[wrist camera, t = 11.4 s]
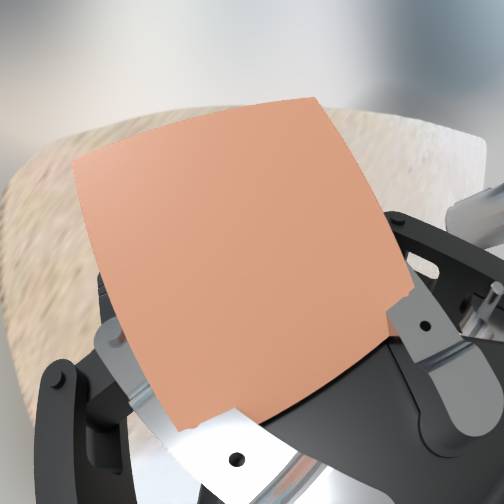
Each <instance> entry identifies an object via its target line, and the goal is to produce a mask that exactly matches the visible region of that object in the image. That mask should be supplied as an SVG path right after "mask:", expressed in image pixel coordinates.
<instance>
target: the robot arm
mask: <svg viewBox="0 0 504 504" xmlns="http://www.w3.org/2000/svg"><path fill="white" fill-rule="evenodd" d="M384 215H385V217H386V219H387V221H388V223H389V225H390V228H391V230H392V232H393V234H394V237H395V239H396V241H397V243H398V246H399V248H400V250H401V253H402V255H403V258H404V260H405V263H406V265H407V268H408V270H409V273H410V275H411V278H412V281H413V284H414V286H415V287H414V288H413V289H412V290H411V291H410V292H409V295H408V296H407V297H403V298H402V299H400V300H399V301H398V302H397V303H396V304H394V305H393V306H392V307H391V308H389V309H388V310H387V311H386V317H387V324H388V331H389V337H387V338H386V339H385V340H384V341H383V342H381V343H380V344H379V345H378V346H377V347H375V348H374V349H373V350H372V351H370V352H369V353H368V354H367V355H365V356H364V357H363V358H361V359H360V360H359V361H357V362H356V363H355V364H353V365H352V366H351V367H349V368H348V369H347V370H345V371H344V372H343V373H341V374H340V375H338V376H337V377H335V378H334V379H333V380H331V381H330V382H328V383H327V384H325V385H324V386H322V387H321V388H319V389H318V390H316V391H315V392H313V393H311V394H310V395H308V396H307V397H305V398H304V399H302V400H300V401H299V402H297V403H295V404H294V405H292V406H290V407H289V408H287V409H285V410H283V411H282V412H280V413H278V414H276V415H275V416H273V417H271V418H269V419H267V420H266V421H264V422H262V423H260V424H256V423H255V422H253V421H252V420H251V419H249V418H248V417H247V416H245V415H244V414H243V413H241V412H240V411H239V410H237V409H236V408H233V409H231V410H229V411H227V412H224V413H222V414H220V415H218V416H216V417H214V418H211V419H209V420H207V421H205V422H202V423H200V424H199V426H198V427H196V428H194V429H189V428H188V429H186V430H183V431H181V432H178V431H177V429H176V428H175V426H174V424H173V423H172V421H171V420H170V418H169V417H168V415H167V413H166V412H165V410H164V408H163V407H162V405H161V403H160V402H159V400H158V398H157V397H156V395H155V393H154V391H153V390H152V388H151V386H150V384H149V382H148V381H147V379H146V377H145V375H144V373H143V371H142V369H141V367H140V365H139V363H138V361H137V359H136V357H135V355H134V353H133V351H132V349H131V347H130V345H129V343H128V341H127V339H126V336H125V334H124V332H123V330H122V327H121V325H120V323H119V321H118V318H117V316H116V313H115V311H114V309H113V306H112V304H111V301H110V298H109V296H108V293H107V291H106V288H105V285H104V282H103V280H102V277H101V274H100V272H99V275H98V277H97V281H98V295H99V306H100V316H101V324H102V325H101V326H100V327H99V329H98V330H97V332H96V334H95V337H94V347H95V349H94V350H93V351H92V352H91V353H90V354H89V355H87V356H86V357H85V358H84V359H82V360H81V361H80V362H79V363H77V364H76V365H74V364H73V363H72V362H71V361H69V360H67V359H59V360H56V361H54V362H53V363H51V364H50V365H49V366H48V367H47V368H46V370H45V371H44V373H43V375H42V378H41V382H40V388H39V395H38V403H37V412H36V423H35V438H34V480H35V495H36V504H137V500H136V494H135V489H134V482H133V476H132V468H131V460H130V452H129V441H128V429H127V416H128V415H129V414H131V413H132V412H133V411H135V413H136V414H137V415H138V417H139V418H140V419H141V420H142V421H143V423H144V424H145V425H146V426H147V427H148V429H149V430H150V431H151V432H152V433H153V434H154V435H155V437H156V438H157V439H158V440H159V441H160V442H161V443H162V444H163V445H164V446H165V447H166V449H167V450H168V451H169V452H170V453H171V454H172V455H173V456H174V457H175V458H176V459H177V460H178V461H179V462H180V463H181V464H182V465H183V466H184V467H185V468H186V469H187V470H188V471H189V472H191V473H192V474H193V475H194V476H195V477H196V478H197V479H198V480H199V481H200V482H202V483H201V487H200V492H199V497H198V502H197V504H504V260H502V259H500V258H498V257H496V256H495V255H493V254H491V253H489V252H487V251H485V250H484V249H487V248H490V247H494V246H497V245H500V244H503V243H504V183H503V184H501V185H499V186H496V187H494V188H488V189H485V190H483V191H481V192H479V193H477V194H475V195H472V196H470V197H468V198H466V199H464V200H461V201H459V202H457V203H455V204H454V206H452V207H450V208H449V209H448V211H447V214H446V226H447V232H446V231H443V230H441V229H439V228H437V227H434V226H432V225H430V224H428V223H425V222H423V221H420V220H418V219H416V218H413V217H411V216H408V215H406V214H403V213H400V212H395V211H388V212H384ZM409 252H411V253H413V254H415V255H418V256H420V257H422V258H424V259H426V260H428V261H430V262H432V263H434V264H435V265H436V266H437V267H438V269H439V277H438V278H437V279H431V278H429V277H427V276H425V275H423V274H421V273H419V272H417V271H415V270H413V269H412V267H411V266H410V265H409V264H408V263H407V261H406V260H407V257H408V253H409ZM459 333H461V335H460V334H459Z"/></svg>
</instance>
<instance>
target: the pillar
mask: <svg viewBox="0 0 504 504" xmlns="http://www.w3.org/2000/svg"><path fill="white" fill-rule="evenodd" d="M72 165H73V171H74V176H75V182H76V187H77V191H78V196H79V201H80V205H81V209H82V213H83V217H84V221H85V225H86V229H87V232H88V236H89V239H90V243H91V246H92V249H93V253H94V256H95V259H96V262H97V265H98V268H99V271H100V274H101V277H102V280H103V282H104V285H105V288H106V291H107V293H108V296H109V298H110V301H111V304H112V306H113V309H114V311H115V313H116V316H117V318H118V321H119V323H120V325H121V327H122V330H123V332H124V334H125V336H126V339H127V341H128V343H129V345H130V347H131V349H132V351H133V353H134V355H135V357H136V359H137V361H138V363H139V365H140V367H141V369H142V371H143V373H144V375H145V377H146V379H147V381H148V382H149V384H150V386H151V388H152V390H153V391H154V393H155V395H156V397H157V398H158V400H159V402H160V403H161V405H162V407H163V408H164V410H165V412H166V413H167V415H168V417H169V418H170V420H171V421H172V423H173V424H174V426H175V428H176V429H177V431H178V432H181V431H183V430H186V429H188V428H189V429H194V428H196V427H198V426H199V424H200V423H202V422H205V421H207V420H209V419H211V418H214V417H216V416H218V415H220V414H222V413H224V412H227V411H229V410H231V409H233V408H236V409H237V410H239V411H240V412H241V413H243V414H244V415H245V416H247V417H248V418H249V419H251V420H252V421H253V422H255V423H256V424H260V423H262V422H264V421H266V420H267V419H269V418H271V417H273V416H275V415H276V414H278V413H280V412H282V411H283V410H285V409H287V408H289V407H290V406H292V405H294V404H295V403H297V402H299V401H300V400H302V399H304V398H305V397H307V396H308V395H310V394H311V393H313V392H315V391H316V390H318V389H319V388H321V387H322V386H324V385H325V384H327V383H328V382H330V381H331V380H333V379H334V378H335V377H337V376H338V375H340V374H341V373H343V372H344V371H345V370H347V369H348V368H349V367H351V366H352V365H353V364H355V363H356V362H357V361H359V360H360V359H361V358H363V357H364V356H365V355H367V354H368V353H369V352H370V351H372V350H373V349H374V348H375V347H377V346H378V345H379V344H380V343H381V342H383V341H384V340H385V339H386V338H387V337H389V331H388V324H387V317H386V311H387V310H388V309H389V308H391V307H392V306H393V305H394V304H396V303H397V302H398V301H399V300H400V299H402V298H403V297H407V296H408V295H409V292H410V291H411V290H412V289H413V288H414V287H415V286H414V284H413V281H412V278H411V275H410V273H409V270H408V268H407V265H406V263H405V260H404V258H403V255H402V253H401V250H400V248H399V246H398V243H397V241H396V239H395V237H394V234H393V232H392V230H391V228H390V225H389V223H388V221H387V219H386V217H385V215H384V213H383V211H382V209H381V207H380V205H379V203H378V201H377V199H376V197H375V195H374V193H373V191H372V189H371V187H370V185H369V183H368V182H367V180H366V178H365V176H364V174H363V172H362V171H361V169H360V167H359V165H358V164H357V162H356V160H355V158H354V157H353V155H352V153H351V152H350V150H349V148H348V147H347V145H346V143H345V142H344V140H343V139H342V137H341V135H340V134H339V132H338V131H337V129H336V128H335V126H334V125H333V123H332V122H331V120H330V119H329V117H328V116H327V114H326V113H325V111H324V110H323V108H322V107H321V105H320V104H319V103H318V101H317V100H316V99H315V97H311V98H300V99H292V100H283V101H276V102H270V103H262V104H256V105H250V106H245V107H239V108H234V109H229V110H224V111H220V112H215V113H211V114H207V115H202V116H198V117H194V118H191V119H187V120H183V121H179V122H176V123H172V124H169V125H166V126H162V127H159V128H156V129H153V130H150V131H146V132H143V133H141V134H138V135H135V136H132V137H129V138H126V139H124V140H121V141H118V142H116V143H113V144H110V145H108V146H105V147H103V148H100V149H98V150H96V151H93V152H91V153H89V154H86V155H84V156H82V157H80V158H77V159H75V160H73V161H72Z"/></svg>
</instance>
